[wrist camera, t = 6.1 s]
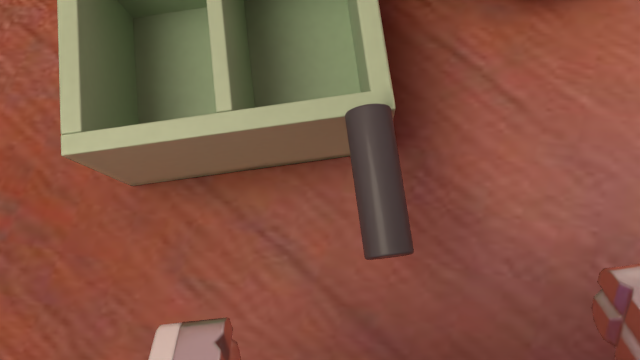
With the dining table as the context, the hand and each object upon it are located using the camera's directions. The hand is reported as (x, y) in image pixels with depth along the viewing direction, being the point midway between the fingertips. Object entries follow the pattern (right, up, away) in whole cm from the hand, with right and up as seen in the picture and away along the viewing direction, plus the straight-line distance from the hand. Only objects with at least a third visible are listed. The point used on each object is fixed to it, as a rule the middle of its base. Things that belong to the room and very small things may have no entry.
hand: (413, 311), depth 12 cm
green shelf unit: (-11, +5, +10) cm, 16 cm away
